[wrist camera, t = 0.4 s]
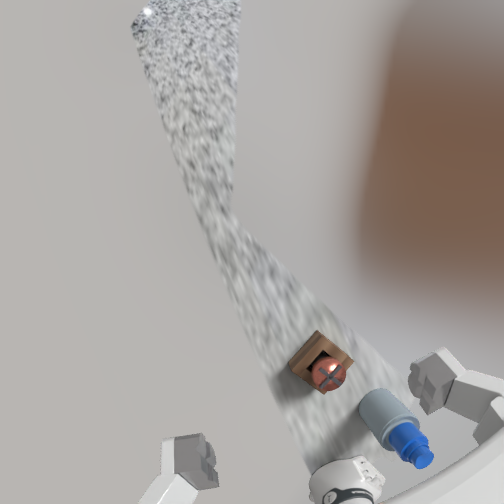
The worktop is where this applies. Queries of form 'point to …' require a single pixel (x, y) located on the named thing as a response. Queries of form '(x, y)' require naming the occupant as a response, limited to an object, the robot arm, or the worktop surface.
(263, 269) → the worktop surface
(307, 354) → the block
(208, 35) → the worktop surface
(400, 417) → the spray bottle
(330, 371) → the copper cross-head bolt
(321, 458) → the worktop surface
